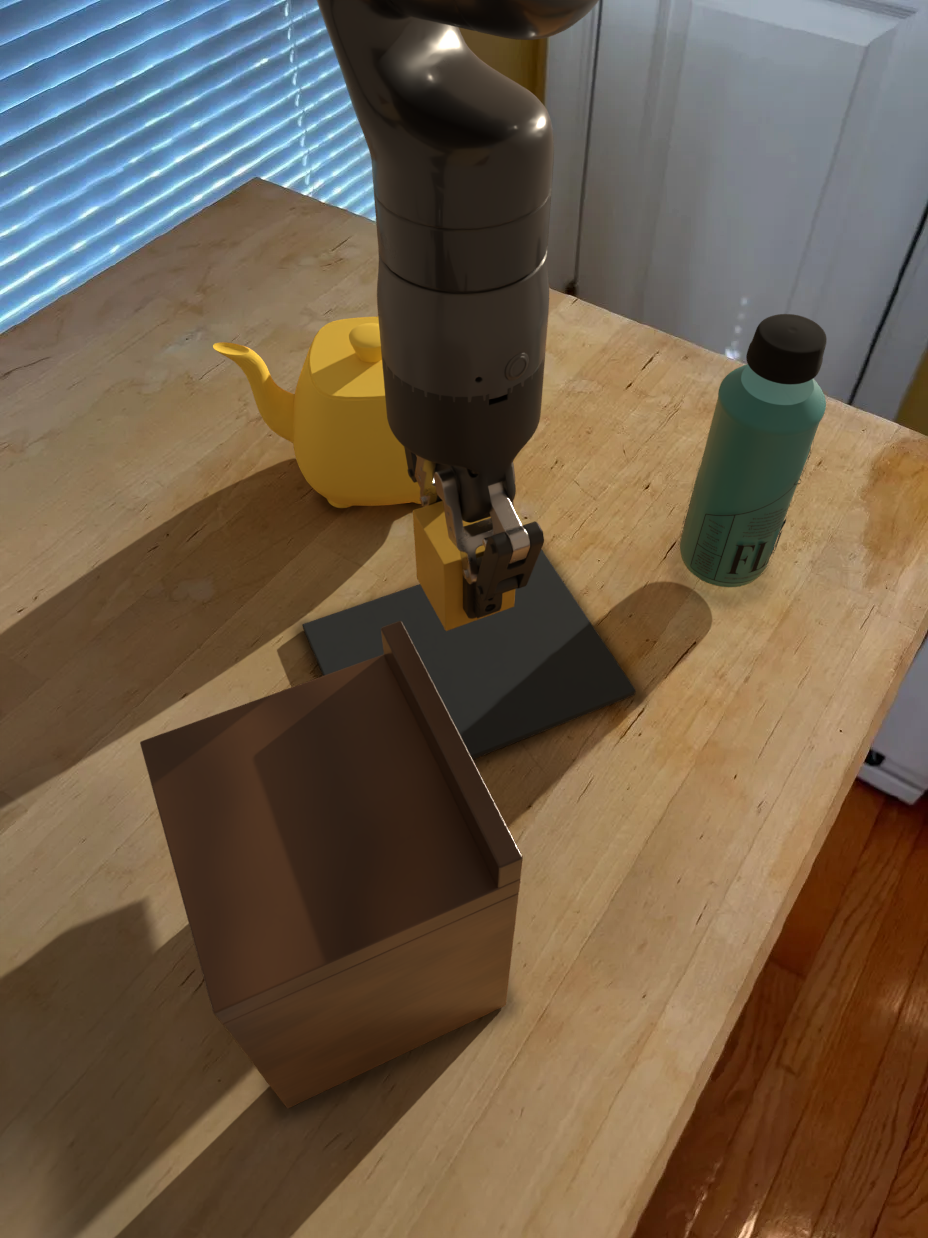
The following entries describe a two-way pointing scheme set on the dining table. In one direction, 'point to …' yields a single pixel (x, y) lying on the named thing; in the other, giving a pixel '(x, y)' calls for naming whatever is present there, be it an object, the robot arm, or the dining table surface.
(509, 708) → the slate mat
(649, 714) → the dining table surface
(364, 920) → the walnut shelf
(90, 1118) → the dining table surface
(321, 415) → the teapot
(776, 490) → the beverage bottle
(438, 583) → the yellow block
